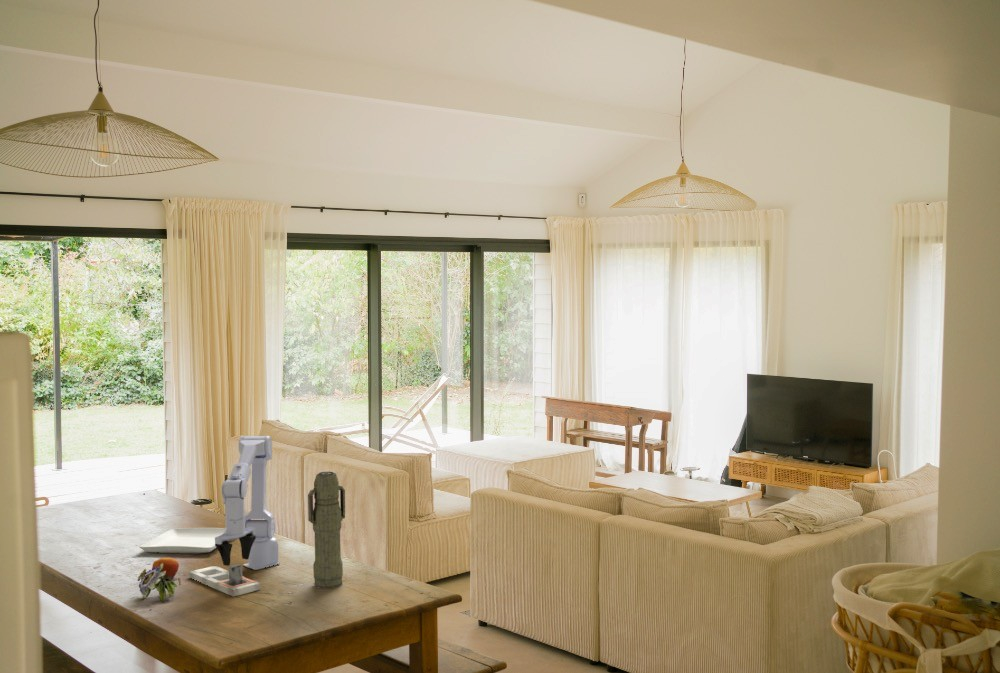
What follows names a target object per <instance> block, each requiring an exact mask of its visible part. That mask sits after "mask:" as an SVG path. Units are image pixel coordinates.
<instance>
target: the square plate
mask: <svg viewBox="0 0 1000 673" xmlns="http://www.w3.org/2000/svg"><path fill="white" fill-rule="evenodd" d="M225 531H226V527H181V528H179V527H178V528H177V527H174V528H171V529H168V530H167V531H165V532H163V533H160V534H159V535H157V536H155V537H153V538H150V540H148V541H146V542H144V543H142V544H141V545H140V546H139V549H141V550H142V551H144V552H148V553H157V552H159V554H206V553H211V552H212V551H214V550H215V549H217V547H216V546H215V537H218V536H220V535H222V534H224V532H225Z"/></svg>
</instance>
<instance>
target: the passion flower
mask: <svg viewBox="0 0 1000 673" xmlns="http://www.w3.org/2000/svg"><path fill="white" fill-rule="evenodd" d="M163 566H164V564H163V563H162V564H160V566H159V567H157V566H156V567H154V568H151V569H149V570H147V569H146V568H144V569H143V570H142V572H140V573H139V576H137V582H139V581H140V582H139V583H138V588H139V592H140V593H141V595H142V597H141V598H140V599H141V600H145V599H147V598H148V597H149V595H150V594H151V591H153V590H155V589H156V591H158V597H159V599H160V601H161V602H163V601H166V595H167V594H168V598H169V599H170V598H171V597H172V596H173V595H174V593H176V592H175V589H176V588H178V585H179V586H181V585H182V583H181V582H182V580H181V577H178V578H175V579H173V580H171V581H170V580H168V581H166V579H165V574H166V571H163V572H161V570H162V569H163ZM177 580H178V585H177V583H175V581H177ZM166 590H167V591H166Z"/></svg>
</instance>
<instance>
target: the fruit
mask: <svg viewBox="0 0 1000 673" xmlns="http://www.w3.org/2000/svg"><path fill="white" fill-rule="evenodd" d="M162 563H163V564H164V566H163V569H162V570H161V572H163V571H166V574H165V580H168V581H172V579H173V578H174V577H175V576H176V574H177V573H178V570H179V566H180V563H179V562H178V560H177V559H175V558H173V557H160V558H158V559H157V560H155V561H153V563H152V568H154V567H156V566H157V567H159V566H160V564H162ZM152 568H151V569H152Z"/></svg>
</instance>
